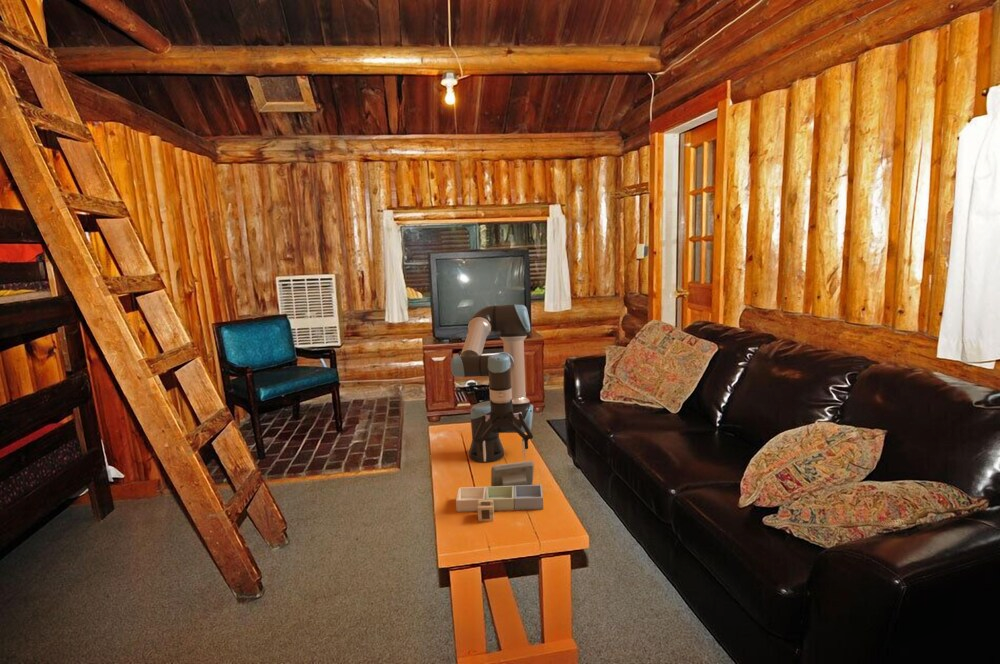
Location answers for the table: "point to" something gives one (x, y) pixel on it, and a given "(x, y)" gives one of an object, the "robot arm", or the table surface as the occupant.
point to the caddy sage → (501, 497)
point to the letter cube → (485, 510)
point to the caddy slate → (528, 497)
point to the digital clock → (512, 474)
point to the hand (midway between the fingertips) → (504, 459)
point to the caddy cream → (469, 498)
